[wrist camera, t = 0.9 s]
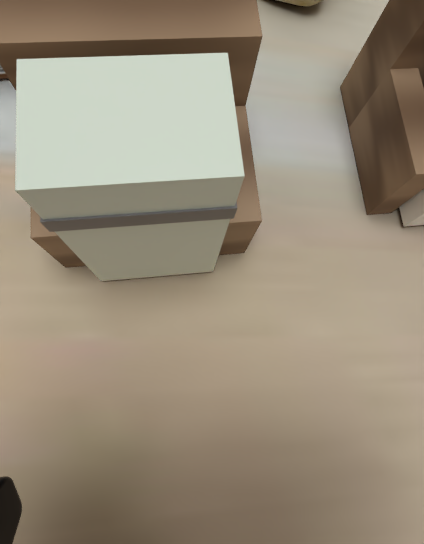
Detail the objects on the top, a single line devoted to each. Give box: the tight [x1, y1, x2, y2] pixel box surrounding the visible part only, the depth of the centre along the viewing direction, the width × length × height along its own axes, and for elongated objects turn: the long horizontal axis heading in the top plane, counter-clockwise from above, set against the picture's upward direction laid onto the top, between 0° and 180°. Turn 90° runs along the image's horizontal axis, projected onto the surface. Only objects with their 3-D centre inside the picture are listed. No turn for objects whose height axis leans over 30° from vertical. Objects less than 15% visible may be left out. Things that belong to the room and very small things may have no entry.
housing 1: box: [0, 0, 262, 267], centre depth 18 cm, size 9×10×9 cm
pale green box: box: [15, 53, 245, 281], centre depth 16 cm, size 4×6×11 cm
